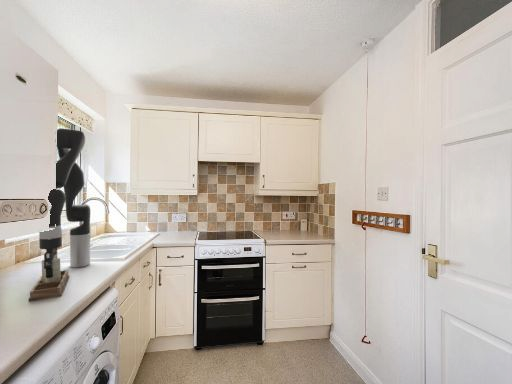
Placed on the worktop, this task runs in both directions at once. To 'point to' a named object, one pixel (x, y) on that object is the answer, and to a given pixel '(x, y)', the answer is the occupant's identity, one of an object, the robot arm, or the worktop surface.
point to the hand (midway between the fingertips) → (51, 274)
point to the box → (55, 272)
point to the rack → (49, 288)
